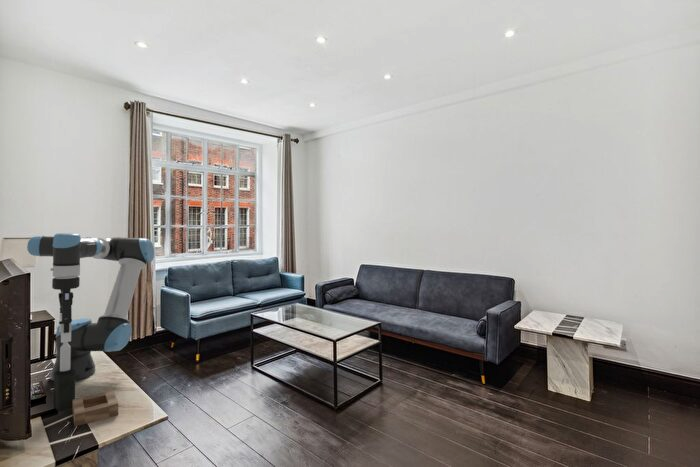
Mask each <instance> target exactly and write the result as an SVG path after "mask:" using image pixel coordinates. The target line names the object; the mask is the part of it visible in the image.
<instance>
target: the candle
mask: <svg viewBox="0 0 700 467" xmlns="http://www.w3.org/2000/svg"><path fill="white" fill-rule="evenodd" d="M70 354H71V346H70V345H69V344H68V342H63V345H62V346H61V347H60V369H59V370H57V371H56V372H55V373H54V381H53V390H54V391H53V409H55V408H56V409H55V410H57V411H58V412H61V411H64V410H68V409H70V408H72V403H73V399H76V381H75V370H74V369H73V368H72V367H70Z"/></svg>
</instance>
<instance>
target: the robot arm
mask: <svg viewBox="0 0 700 467" xmlns="http://www.w3.org/2000/svg"><path fill="white" fill-rule="evenodd" d="M27 241H28V242H27V247H26V248H27V252H28V254H30V255H31V256H34V257H52V268H50V269H49V270H50V272H52V277H53V278H52V281H51V285H52V286H51V288H52V289H53V290H59V291H60V292H58V301H59V321H58V326H57V327H56V334H55V337H56V338H55V343H56V345H55V348H56V350H55V351H56V352H55V354H56V355H55V362H54V363H53V367H52V369H51V372H50V378H49V379H50V381H52V382H54V373H55V372H56V371H57V370H59V369H60V347H61V346H62V345H63V342H68V344H69V345H70V346H71V354H70V367H72V368H73V369H74V370H75V382H76V381H79V380H82V379H85V378H88V377H89V376H92V375H93V374H94V373H96V364H95V361H94V359H93V355H92V352H108V353H110V352H117V351H118V352H119V351H121V350H122V349H123V348H125V347H126V346H127V345H128V343H129V341H130V339H131V337H132V330H133V329H132V326H131V324H130V321H129V319H128V313H129V310H130V306H131V303H132V300H133V298H134V293H135V291H136V287H137V283H138V280H139V278H140V274H141V271H142V270H144V269H145V268H146V266H147V263H151V262H152V261H153V260H154V257H155V247H154V243H153V242H152V241H151V240H150V239H149V238H145V237H143V238H142V237H120V236H119V237H118V236H117V237H116V236H115V237H105V238H104V237H103V238H102V237H101V238H100V237H99V238H96V237H90V236H89V237H81V234H79V233H69V232H67V233H66V232H63V233H56V234H54V235H53V236H45V235H41V236H40V235H39V236H38V235H36V236H32V237H30V239H29V240H27ZM84 258H94V259H96V260H97V259H98V260H107V261H115V262H117V263H118V264H119V266H120V267H119V270H118V273H117V275H116V278H115V282H114V284H113V287H112V290H111V292H110V293H111V294H110V296H109V299H108V302H107V304H106V308H105V311H104V313H103V314H102V315H100V316H99V317H98V319H97V322H93V321H92V319H91V318H90V317H89V318H88V317H87V318H86V317H85V318H79V319H74V320H73V319H72V318H73V316H72V314H73V313H72V310H73V309H72V306H73V303H74V302H73V301H74V300H73V298H74V293H73V291H71V290H72V289H77V288H79V287H80V283H81V282H80V277H79V276H80V275H81V259H84Z"/></svg>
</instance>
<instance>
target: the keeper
mask: <svg viewBox="0 0 700 467" xmlns="http://www.w3.org/2000/svg"><path fill="white" fill-rule="evenodd" d="M71 408H72V410H71V411H72V418H73V425H74V427H78V426H83V425H86V424H89V423H93V422H96V421H99V420H104V419H106V418H111V417H115V416H117V415H119V402H118V399H117V395H116V393H115V390H114V389H112V390H108V391H103V392H99V393H93V394H91V395H87V396H82V397H81V396H80V397H78V398H75V399H73V403H72V407H71Z"/></svg>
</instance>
